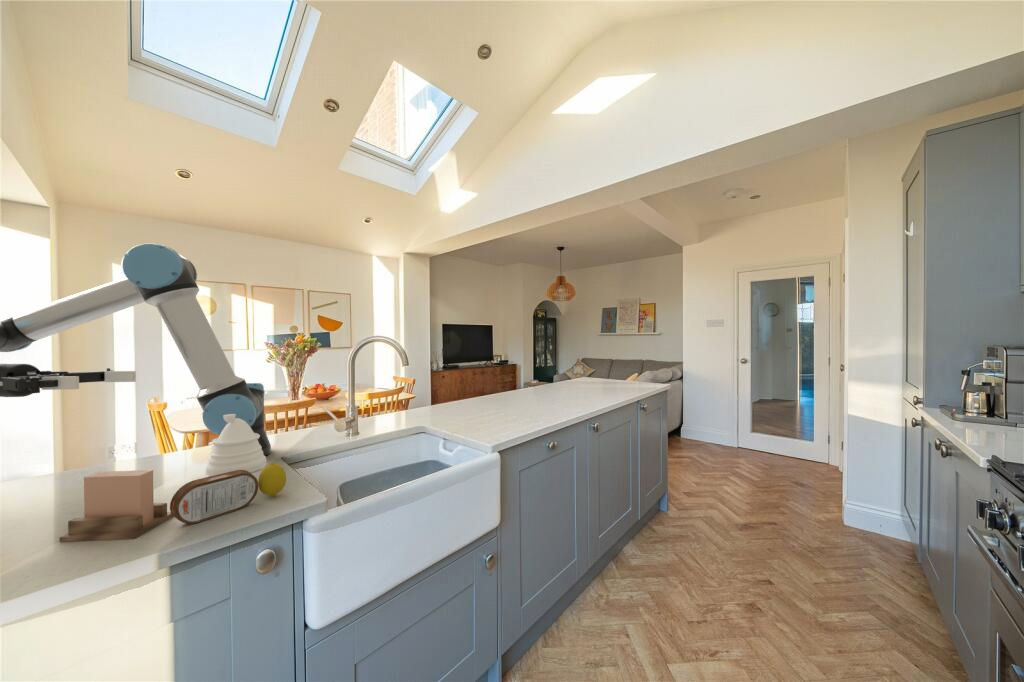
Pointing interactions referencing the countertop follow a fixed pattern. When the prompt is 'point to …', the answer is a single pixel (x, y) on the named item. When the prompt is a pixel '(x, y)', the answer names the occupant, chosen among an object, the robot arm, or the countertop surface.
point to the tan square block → (119, 494)
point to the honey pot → (236, 449)
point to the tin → (213, 496)
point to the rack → (114, 526)
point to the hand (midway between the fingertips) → (108, 379)
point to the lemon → (272, 479)
